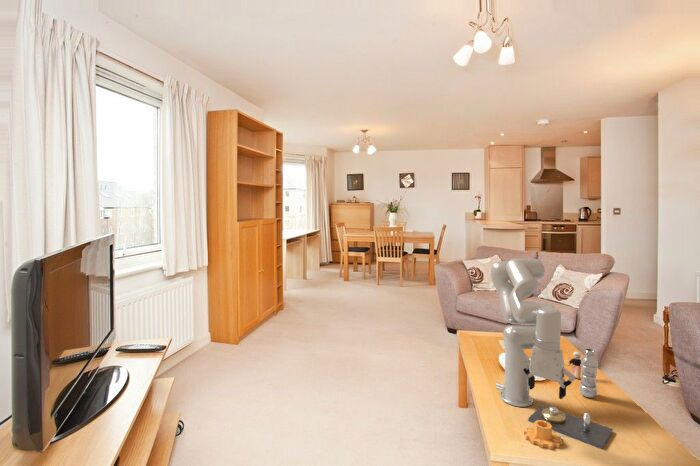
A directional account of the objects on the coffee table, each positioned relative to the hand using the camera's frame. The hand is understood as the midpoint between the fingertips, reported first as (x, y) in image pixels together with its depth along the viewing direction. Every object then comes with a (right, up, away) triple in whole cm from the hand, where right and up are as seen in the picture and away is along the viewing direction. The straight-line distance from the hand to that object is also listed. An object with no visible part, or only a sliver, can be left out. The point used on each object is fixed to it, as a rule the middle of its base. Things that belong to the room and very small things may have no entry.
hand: (546, 392), depth 133 cm
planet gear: (-1, -17, +1) cm, 17 cm away
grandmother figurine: (+39, -14, +49) cm, 64 cm away
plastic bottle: (+34, -15, +31) cm, 49 cm away
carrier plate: (+13, -16, +9) cm, 22 cm away
